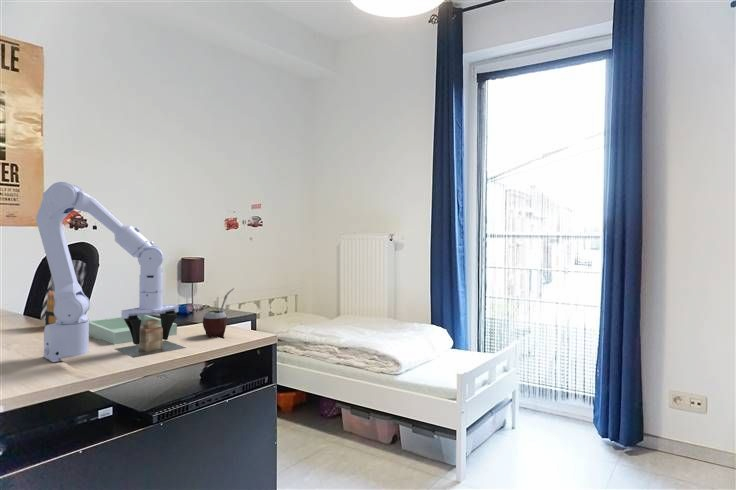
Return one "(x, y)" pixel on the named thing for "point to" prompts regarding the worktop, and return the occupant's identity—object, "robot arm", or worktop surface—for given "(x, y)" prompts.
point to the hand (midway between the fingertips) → (150, 341)
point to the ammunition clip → (50, 309)
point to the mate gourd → (215, 321)
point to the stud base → (137, 352)
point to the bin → (118, 329)
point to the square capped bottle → (151, 335)
